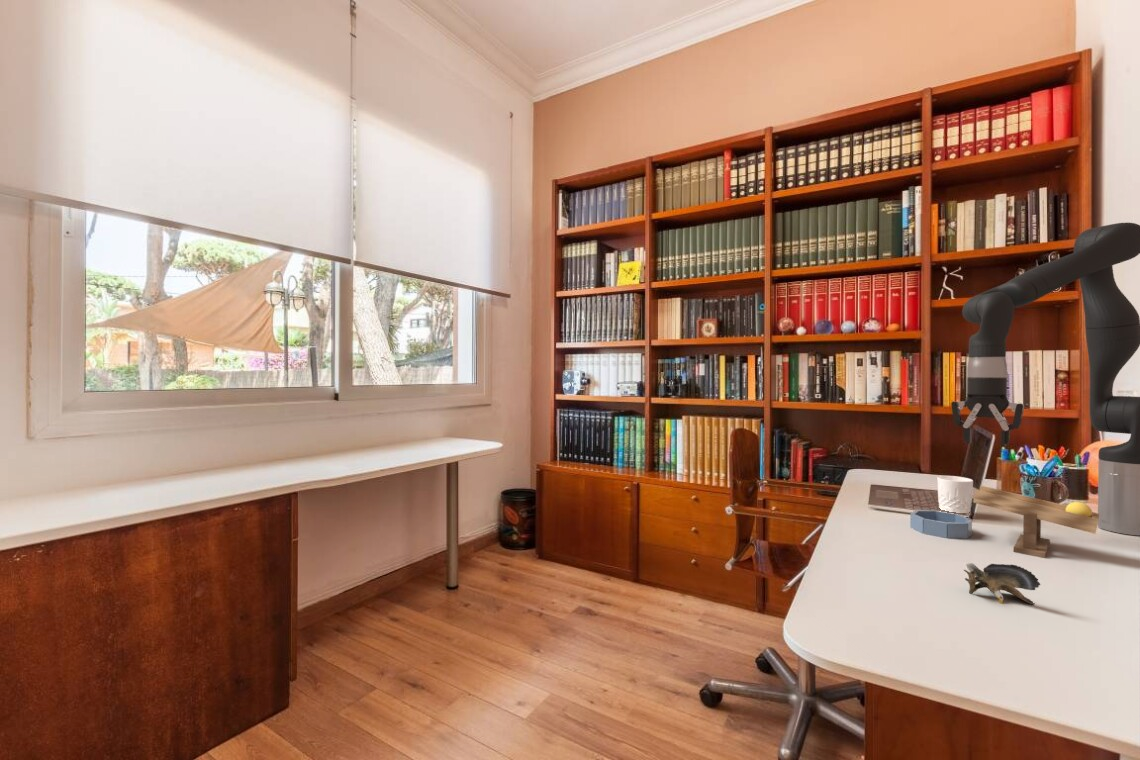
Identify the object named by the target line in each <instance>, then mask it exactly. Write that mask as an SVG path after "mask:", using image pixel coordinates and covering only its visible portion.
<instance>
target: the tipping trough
mask: <svg viewBox="0 0 1140 760" xmlns="http://www.w3.org/2000/svg"><path fill="white" fill-rule="evenodd" d="M972 502H973V504H974V503H975V504H978V505H983V506H986V507H990V508H994V509H998V510H1001V511H1006V512H1010V513H1011V514H1012V513H1013V514H1016V515H1021V516H1024V512H1031V513H1036V514H1037V519H1040V520H1041V521H1043V522H1044V521H1045V522H1048V523H1051V524H1054V525H1055V524H1056V525H1060V526H1063V527H1067V528H1071V529H1075V530H1079V531H1083V532H1087V533H1091V534H1093V535H1094V534H1095V535H1096V533H1097V529H1098V521H1099V513H1098V512H1094V511H1092V517H1087V516H1083V515H1079V514H1075V513H1070V512H1066V507H1067V505H1065V504H1060V503H1056V502H1052V501H1050V500H1049V501H1048V500H1043V499H1039V498H1036V497H1032V496H1027V495H1023V494H1019V493H1015V492H1010V491H1006V490H1001V489H997V488H995V487H994V488H993V487H990V486H989V487H988V486H985V485H980V486H979V489H975V490H974V496H973V499H972Z"/></svg>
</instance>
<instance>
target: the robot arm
mask: <svg viewBox="0 0 1140 760" xmlns="http://www.w3.org/2000/svg"><path fill="white" fill-rule="evenodd" d="M1139 255H1140V224H1137V223H1136V222H1118V223H1111V224H1107V225H1102V226H1098V227H1091V228H1089V229H1085V230H1083V231H1082V232H1081V233H1080V234H1078V236H1077V237H1076V239H1075V241H1074V243H1073V252H1072V253H1069V254H1067V255H1063V256H1062V257H1060V258H1057V259H1054V260H1051V261H1048V262H1044V263H1043V264H1040V265H1038V266H1035V267H1033V268H1031V269H1028V270H1027V271H1024V272H1022V273H1020V274H1019V275H1017V276H1015V277H1014V278H1011V279H1009V280H1008V281H1007V282H1005V283H1003V284H1000V285H998V286H995V287H993V288H990V289H988V290H986V291H983V292H980V293H978V294H975V295H974V296H972V297H971V298H969V299H968V300H967V301H966V302H965V303H964V305H963V307H962V310H961V313H962V317H963V319H965V320H966V321H967V322H969V323H971V324H975V325H979V329H978V330H977V332H976V333H974V334H972V335H971V336H970V337H969V340H968V362H967V367H966V368H967V369H966V377H967V378H966V379H967V380H966V398H965V400H962V401H956V400H955V401H951V402H950V407H951V410H952V411H951V412H952V419H953V424H954V425H955V426H959V427H961V428H962V429H963V431H962V432H963V434H962V437H963V438H962V439H963V441H965V442H966V444H972V437H973V436H972V434H973V433H972V432H973V430H972V427H971V426H972V425H973V423H974V422H975V421H976V419H977V418H989V419H995V420H996V422H997V423H998V424H999V425H1000V427H1001V431H1000V447H1004V448H1005V447H1006V446H1007V445H1008V444H1009V443H1010V437H1011V435H1010V433H1011V431H1012V430H1017V429H1019V428H1020V427H1021V425H1022V418H1023V415H1024V409H1025V404H1023V403H1017V402H1010V401H1009V399H1008V375H1009V374H1008V373H1009V372H1008V364H1007V338H1008V335H1009V332H1010V329H1011V326H1012V323H1013V320H1014V315H1015V308H1020V307H1023V306H1026V305H1027V306H1028V305H1029V304H1031V303H1033V302H1035V301H1037V300H1039V299H1041V298H1043V297H1045V296H1046V295H1049V294H1050V293H1053V292H1054V291H1056V290H1058V289H1060V288H1063V287H1064V286H1066V285H1068V284H1071V283H1074V282H1075V281H1077V280H1079V283H1080V289H1081V296H1082V302H1083V304H1082V305H1083V313H1084V328H1085V330H1084V331H1085V339H1086V347H1087V349H1086V350H1087V355H1088V364H1089V365H1088V366H1089V418H1090V421H1091V425H1092V427H1093V428H1094V429H1095V430H1096V431H1098V432H1102V433H1114V434H1126V435H1127V434H1128V435H1130V437H1129V440H1127V441H1126V442H1123V443H1119V444H1116V445H1110V446H1109V445H1107V446H1104V447H1100V448H1099V450H1098V469H1097V470H1098V478H1097V482H1098V483H1097V487H1098V488H1097V513H1099V521H1098V525H1097V528H1100V529H1102V530H1105V531H1108V532H1109V531H1110V532H1114V533H1119V534H1124V535H1132V536H1140V396H1127V395H1117V396H1116V395H1113V393H1114V391H1113V390H1114V389H1113V388H1114V383H1115V380H1116V378H1117V376H1118V374H1119V373H1120V371H1121V370H1122V369H1123V368H1124V366H1125V365H1126V364H1127V363H1128V361H1130V359H1131V358H1132V357H1133V356H1134V354H1135V353H1136V352H1137V351H1138V349H1139V347H1140V316H1139V315H1140V314H1139V313H1138V311H1137V309H1136V307H1135V306H1134V305H1133V304H1132V303H1131V301H1130V300H1129V299H1128V298H1127V296H1126V295H1125V294H1124V293H1123V292H1122V291H1121V289H1119V286H1118V285H1117V283H1116V280H1115V275H1114V269H1113V266H1114V265H1117V264H1121V263H1124V262H1126V261H1129V260H1133V259H1134V258H1136V257H1137V256H1139ZM964 406H966V408H967V409H968V410H969V412H970V413H969V415H968V416H967V418H966V419H965V421H963V420H962V414H961V410H963V409H964ZM1008 407H1009V408H1010V410H1011V412H1012V413H1014V415H1013V420H1012V423H1011V424H1009V423H1008V421H1007V418H1006V417H1005V415H1004V414H1003V413H1004V412H1005V411H1006V409H1008Z"/></svg>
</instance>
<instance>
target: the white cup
mask: <svg viewBox="0 0 1140 760" xmlns="http://www.w3.org/2000/svg"><path fill="white" fill-rule="evenodd" d="M936 477H937V478H936V480H937V484H936V485H937V497H938V498H937V501H938V509H939V508H940V509H941V510H945V511H949V512H956V513H969V512H970V513H971V508H972V502H973V490H974V489H973V486H974V480H973V479H972V478H969V477H963V476H955V475H938V476H936Z"/></svg>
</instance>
